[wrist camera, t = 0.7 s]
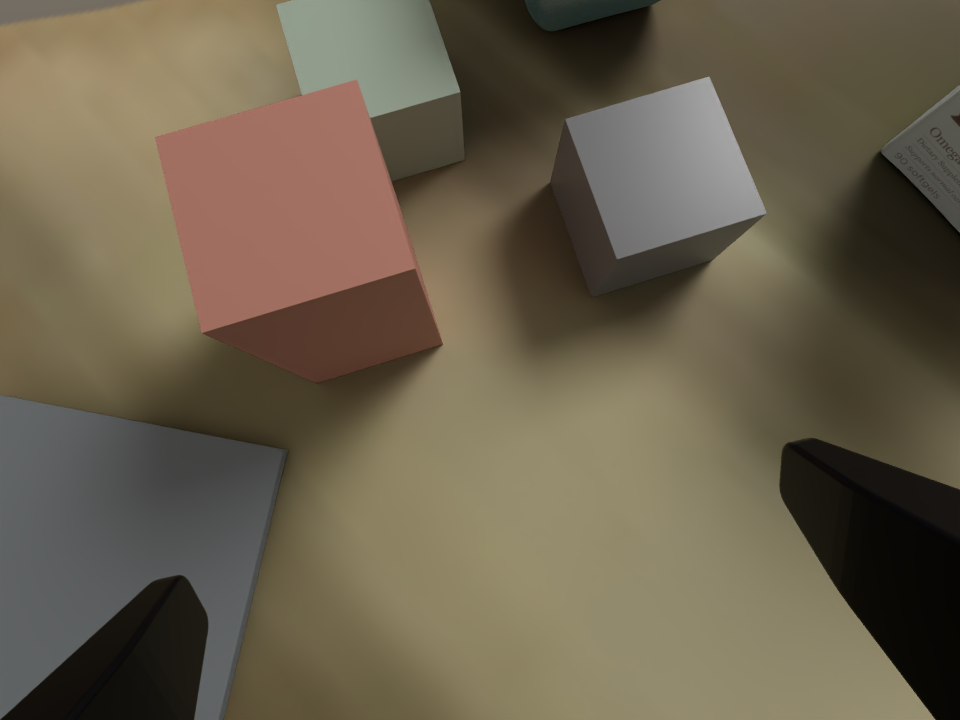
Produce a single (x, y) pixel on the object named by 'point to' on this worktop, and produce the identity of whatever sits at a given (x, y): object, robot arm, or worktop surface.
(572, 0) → the flower pot
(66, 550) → the slate mat
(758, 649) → the worktop surface
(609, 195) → the light gray block
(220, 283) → the brick-red block
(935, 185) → the supplement box
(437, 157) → the sage block
